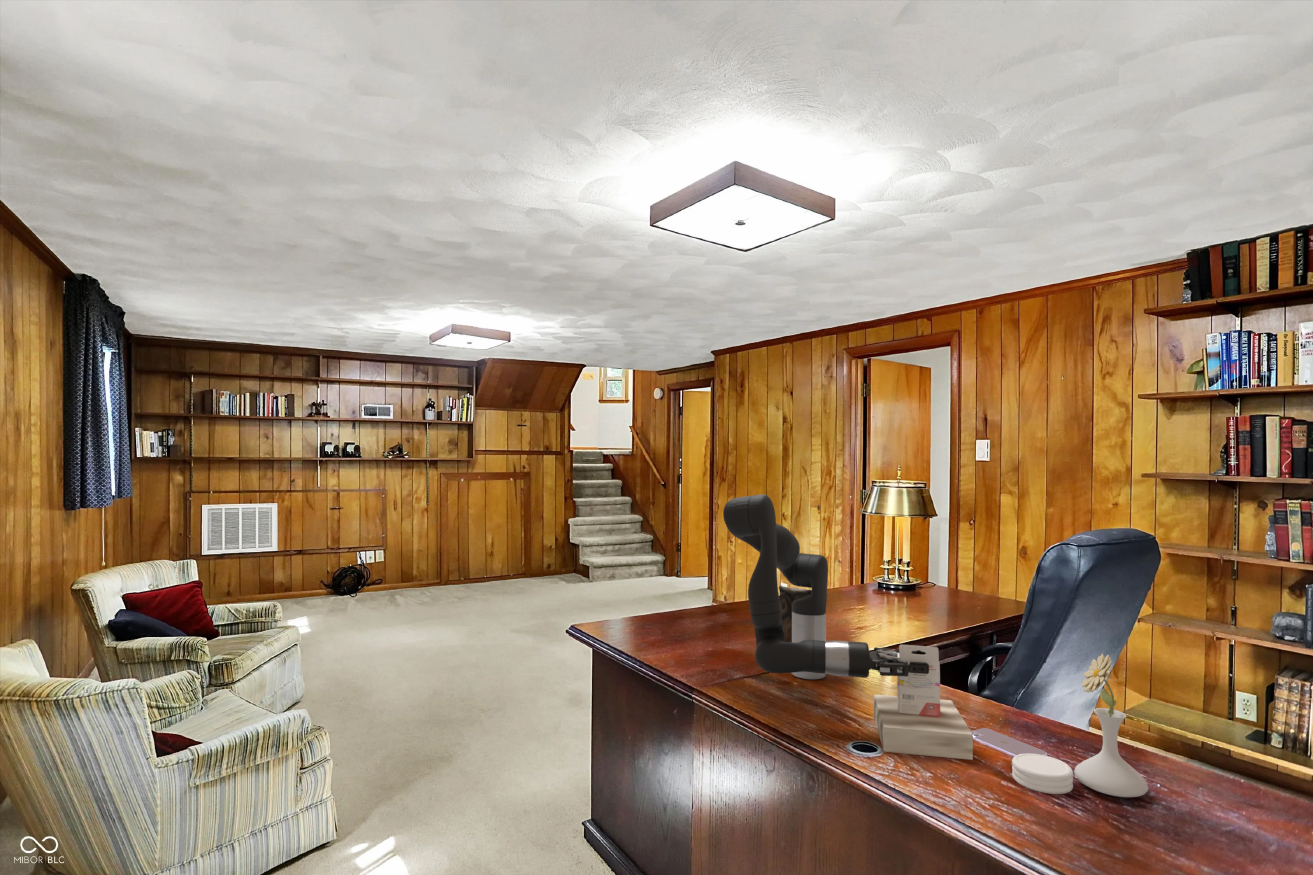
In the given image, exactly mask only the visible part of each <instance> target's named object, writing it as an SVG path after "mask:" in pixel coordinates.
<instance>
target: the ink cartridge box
mask: <svg viewBox="0 0 1313 875" xmlns="http://www.w3.org/2000/svg"><path fill="white" fill-rule="evenodd" d="M898 650H899V653H898V654H897V657H899V658H900V660H904V661H909V662H923V663H928V665H929V673H928V674H920V673H911V672H910V674H908V676H906V677H905V676H896V680H897V681H896V682H897V683H896V684H897V687H896V688H897V690H896V691H897V693H896V694H897V695H896V696H897V701H898V710H899V713H905V714H915V715H925V716H935V717H940V700H941V670H940V669H941V666H940V665H941V664H940V661H939V660H940V658H939V652H940V651H939V648H938V647H937V646H925V645H924V646H923V645H913V644H911V645H910V644H900V645H898ZM917 651H920V652H922V653H924V654H917V653H913V652H917ZM900 669H902V667H900Z"/></svg>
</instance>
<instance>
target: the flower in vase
mask: <svg viewBox="0 0 1313 875" xmlns="http://www.w3.org/2000/svg"><path fill="white" fill-rule="evenodd" d="M1112 663H1113V662H1112V658H1111V657H1110V655H1109V654H1107V655H1106V656H1104V654H1103V653H1101V654H1100V655H1098V656H1097V660H1096V659H1092V660H1091V664H1090V665H1089V667H1088V670H1087V671H1085V672H1084V674H1083V676H1084V677H1085V679H1084V680H1082V684H1081V685H1080V686H1081V688H1084V689H1083V692H1084V693H1088V694H1089V693H1093V692H1095V691H1097V690H1099V688H1100V687H1102V685H1103V684H1104V683H1105V684H1106V687H1107V689H1108V690H1109V691H1107V689H1106V688H1103V689H1102V691H1101V692H1100V699H1101V700H1102V701H1103V702H1104V703H1105V704H1106V705H1107V706H1108V707H1109V708H1106V707H1097V708H1095V709H1093V712H1094V714H1096V716H1097V718H1098V719H1099V723H1100V727H1101V731H1102V747H1101V750H1100V751H1099V753H1097V754H1096V755H1094V756H1091V757H1088V758H1087V759H1085V760H1083V761H1081V762H1080V763H1079V764H1076V766H1075V768H1074V771H1073V775H1075V777H1076V779H1077V780H1078V781H1079V782H1080V783H1081V784H1083V785H1084V786H1086V787H1088V788H1090V789H1091V790H1094V791H1096V792H1098V793H1102V794H1105V795H1109V796H1113V797H1119V798H1137V797H1141V796H1143V795H1146V793H1147V792H1148V791H1149V786H1148V783H1147V781H1146V779H1145V778H1144V777H1143V776H1142V774H1140V773H1139V772H1138V771H1137V770H1136V769H1134V767H1133V766H1131V765H1130V764H1129V763H1127V762H1126V761H1125V760H1124V759H1123V758H1122V757H1121V755H1120V753H1119V750H1118V749H1119V748H1118V738H1119V737H1118V736H1119V731H1120V730H1119V729H1120V726H1121V724H1122V722H1123V721H1125V719H1126V718H1127V714H1126V713H1124V712H1122V711H1120V710H1117V709H1115V706H1116V705H1117V700H1115V697H1114V693H1113V690H1112V688H1111V686H1110V685H1109V682H1108V677H1109V675H1110V673H1111V671H1112V668H1113V665H1112Z"/></svg>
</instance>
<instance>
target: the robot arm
mask: <svg viewBox="0 0 1313 875" xmlns="http://www.w3.org/2000/svg"><path fill="white" fill-rule="evenodd" d="M722 515H723V522H724V524H725V526H726V528H727V530H728V532H730V534H732V535H733V536H734V537H735V538H737V539H738V540H741V542H745V543H746V544H748V545H749V546H751V547H752V548H753V549H754V550H756V551H757V552H758V553H759V557H758V560H757V562H756V565H755V568H754V570H753V572H752V575H751V577H750V579H749V582H748V589H747V598H748V605H749V613H750V620H751V622H752V625H753V627H754V628H753V629H754V635H755V644H756V646H755V647H756V648H755V656H754V657H755V658H754V659H755V662H756V664H757V665H758V667H759V668H760V669H762V670H763V671H765V672H769V673H772V674H791V675H793V676H794V677H797V678H801V679H805V680H820V679H824V678H825V677H826V676H827V675H832V676H838V677H850V678H851V677H852V678H864V679H867V678H868V677H870V670H872V671H877V672H878V673H879V676H881V677H897V676H905V677H906V676H908V674H910V672H911V673H920V674H928V673H929V665H928V663H923V662H909V661H904V660H900V658H899V657H897V654H898V653H899V649H893V648H886V647H885V648H884V647H883V648H882V647H876V646H875V647H873V651H870V648H869V644H868V643H867V642H866V641H865V642H864V641H852V640H851V641H849V640H827V601H828V600H827V599H828V579H829V564H828V560H827V557H825V555H821V554H813V553H812V554H811V553H802V552H801V553H800V551H801V550H800V549H801V548H800V547H801V546H800V543H799V541H798V539H797V538H796V536H795V535H794V534H793V532H791V531H790V530H789V529H787V528H786V527H785V526H783V525H781V524H779V523H777V519H776V510H775V506H774V503H773V501H772V499H771V498H770V497H769V496H768V495H767V494H754V495H748V496H740V497H734V498H732V499H730V500H728V501H727V502H726V503H725V505H724V508H723V514H722ZM777 570H779V571H780V572H781V574H782V575H783V576H784V578H785V579H786V581H788V583H790V585H793V586H795V587H798V588H799V587H801V588H808V589H811V590H812V591H811V594H810V595H809V596H807V597H804V598H800V599H796V600H794V601H793V603H792V642H786V640H785V635H784V630H783V626H782V615H781V607H780V600H779V596H780V592H779V585H778V571H777ZM900 667H902V669H900Z"/></svg>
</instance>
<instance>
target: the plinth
mask: <svg viewBox="0 0 1313 875" xmlns="http://www.w3.org/2000/svg"><path fill="white" fill-rule="evenodd" d="M873 719H874V722H875V726H876V728H877V732H878V736H879V739H880V742H881V747H882V749H883V752H885V753H894V754H895V753H897V754H907V755H916V756H917V755H919V756H926V757H927V756H928V757H939V758H949V759H960V760H961V759H962V760H971V761H973V759H974V757H973V755H974V748H973V747H974V743H973V742H974V740H973V734H972V733H971V731H972V730H971V729H970V728H969V726H968V725H967V722H966V721H965V720H964V718H963V717H962V715H961V713H960V712H959V710H958V709H957V708H956V706H955V704H954V702H953V700H951V699H950V700H949V699H940V717H935V716H925V715H915V714H905V713H899V710H898V701H897V695H886V694H873Z"/></svg>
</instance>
